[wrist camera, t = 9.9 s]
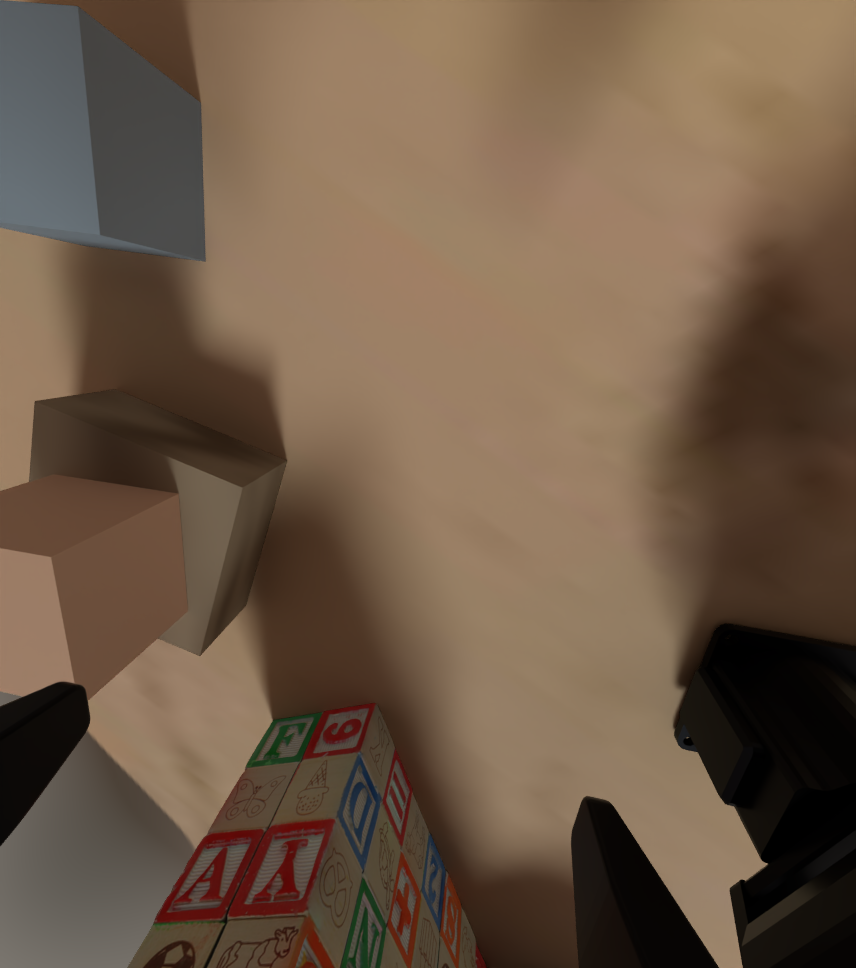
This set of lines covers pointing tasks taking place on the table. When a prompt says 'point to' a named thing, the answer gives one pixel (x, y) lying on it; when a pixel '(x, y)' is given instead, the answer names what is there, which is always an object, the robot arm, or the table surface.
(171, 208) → the slate cube
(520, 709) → the table surface
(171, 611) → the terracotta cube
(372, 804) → the stack of blocks
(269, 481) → the taupe faceted block
